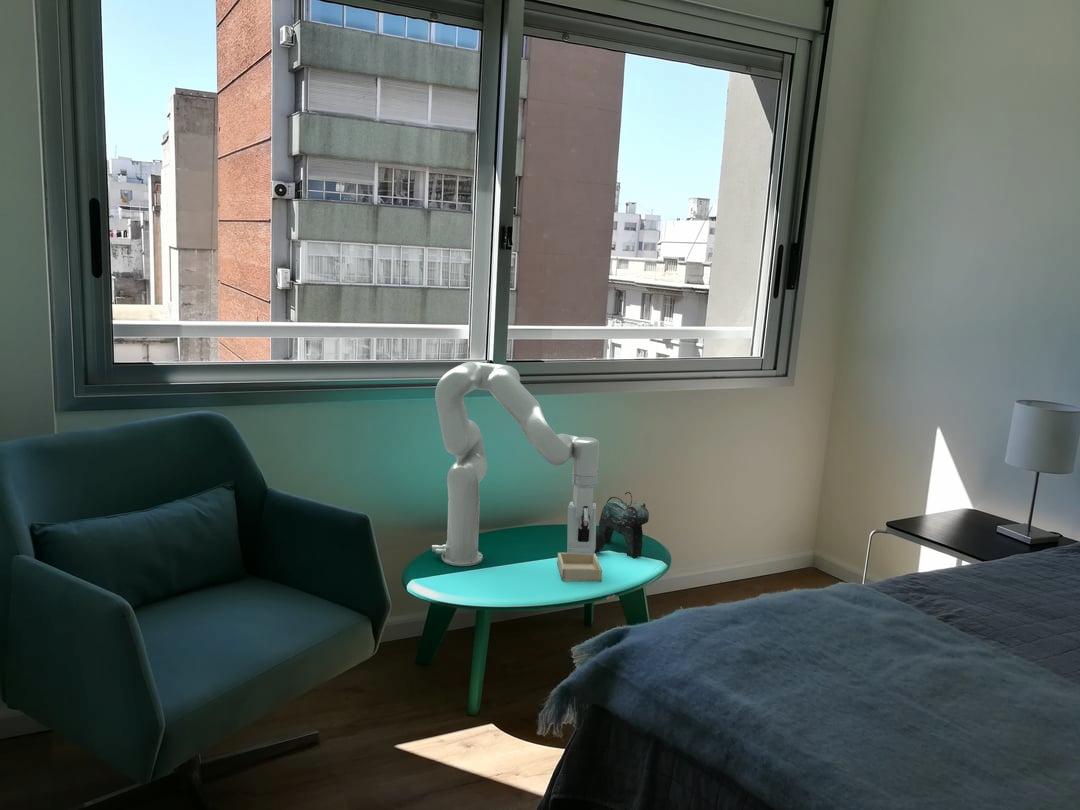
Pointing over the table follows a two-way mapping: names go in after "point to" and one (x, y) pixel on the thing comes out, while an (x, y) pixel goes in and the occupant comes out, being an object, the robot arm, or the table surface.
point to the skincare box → (572, 533)
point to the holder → (579, 567)
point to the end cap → (599, 542)
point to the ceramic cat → (624, 523)
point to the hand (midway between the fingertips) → (581, 536)
